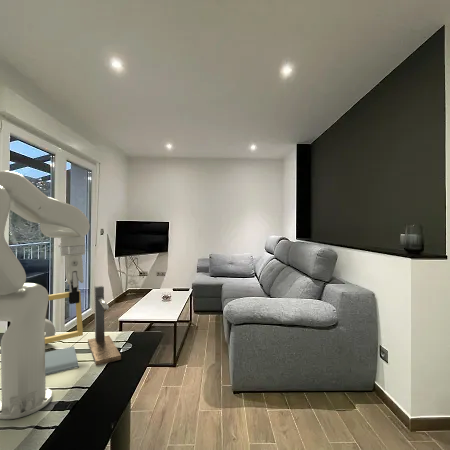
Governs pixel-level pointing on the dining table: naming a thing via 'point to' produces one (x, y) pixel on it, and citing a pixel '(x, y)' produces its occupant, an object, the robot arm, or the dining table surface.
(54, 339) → the frame
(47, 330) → the donut
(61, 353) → the mat
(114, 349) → the stand
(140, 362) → the dining table surface
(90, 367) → the dining table surface
